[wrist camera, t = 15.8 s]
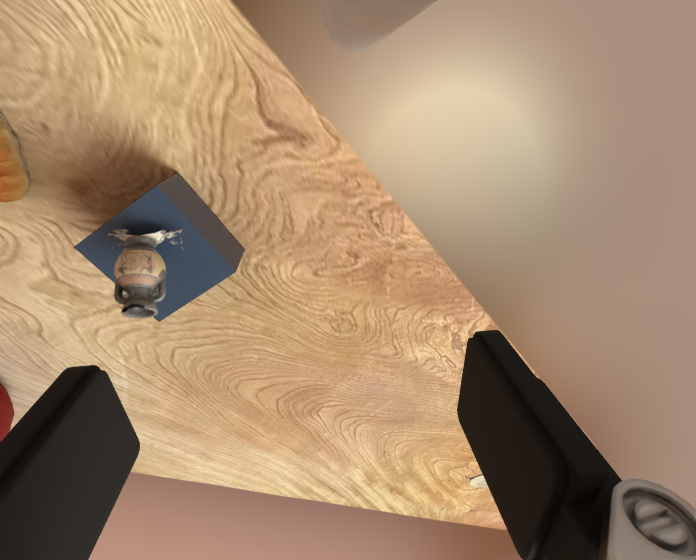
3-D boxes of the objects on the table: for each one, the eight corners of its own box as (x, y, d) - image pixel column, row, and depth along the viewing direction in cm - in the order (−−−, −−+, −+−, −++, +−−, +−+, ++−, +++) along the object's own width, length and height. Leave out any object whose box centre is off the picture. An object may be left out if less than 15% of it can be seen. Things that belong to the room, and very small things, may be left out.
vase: (195, 287, 31) (172, 327, 26) (130, 286, 31) (92, 327, 25) (186, 229, 29) (158, 260, 23) (115, 227, 28) (69, 258, 23)
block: (105, 226, 33) (73, 247, 29) (178, 172, 31) (156, 185, 27) (177, 294, 37) (158, 322, 33) (245, 249, 35) (235, 272, 31)
